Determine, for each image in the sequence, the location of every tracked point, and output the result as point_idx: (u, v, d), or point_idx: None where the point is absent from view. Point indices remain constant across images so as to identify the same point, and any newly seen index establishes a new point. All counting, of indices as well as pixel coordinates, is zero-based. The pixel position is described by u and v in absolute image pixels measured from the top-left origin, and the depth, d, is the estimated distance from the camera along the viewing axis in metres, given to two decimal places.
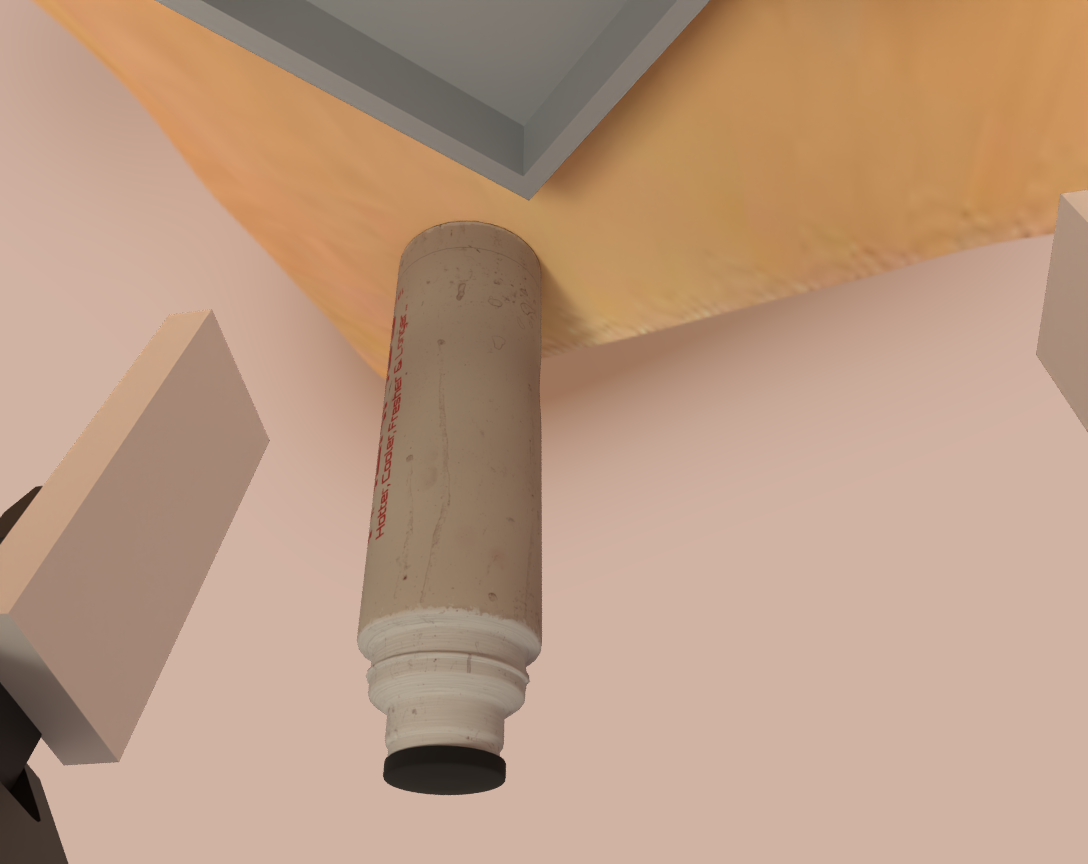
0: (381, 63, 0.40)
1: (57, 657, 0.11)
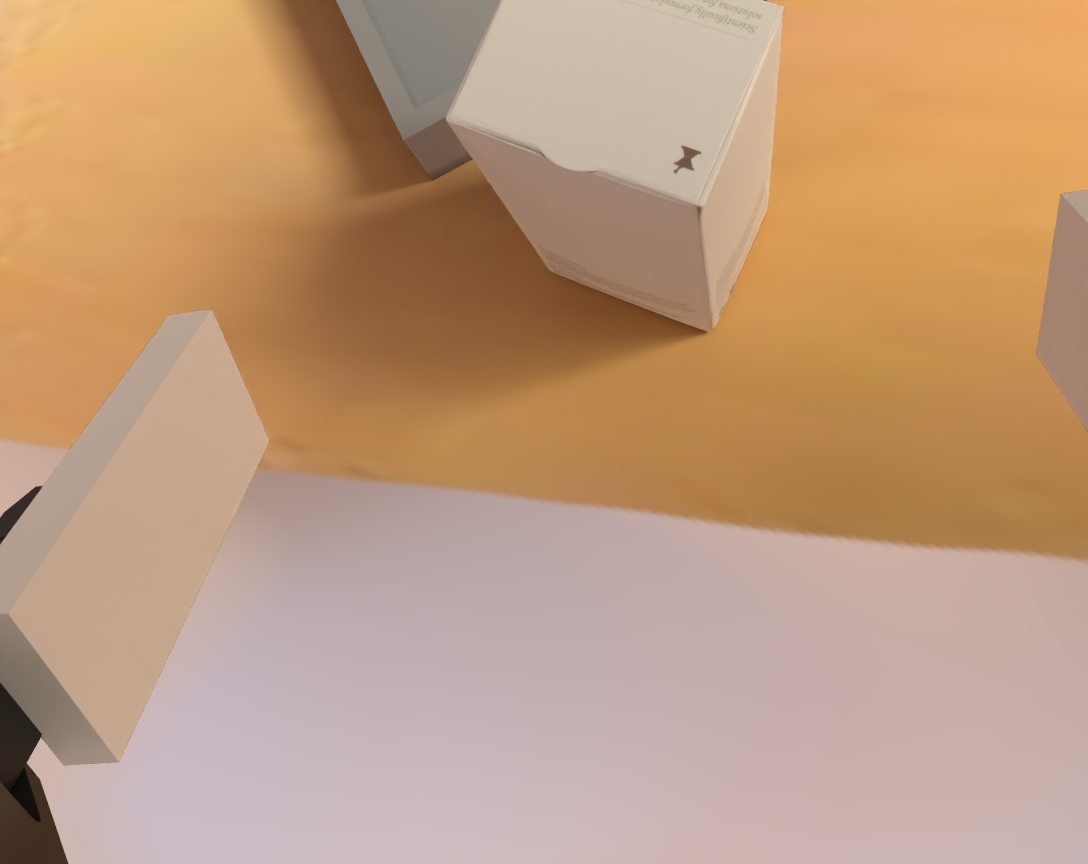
0: None
1: (57, 657, 0.11)
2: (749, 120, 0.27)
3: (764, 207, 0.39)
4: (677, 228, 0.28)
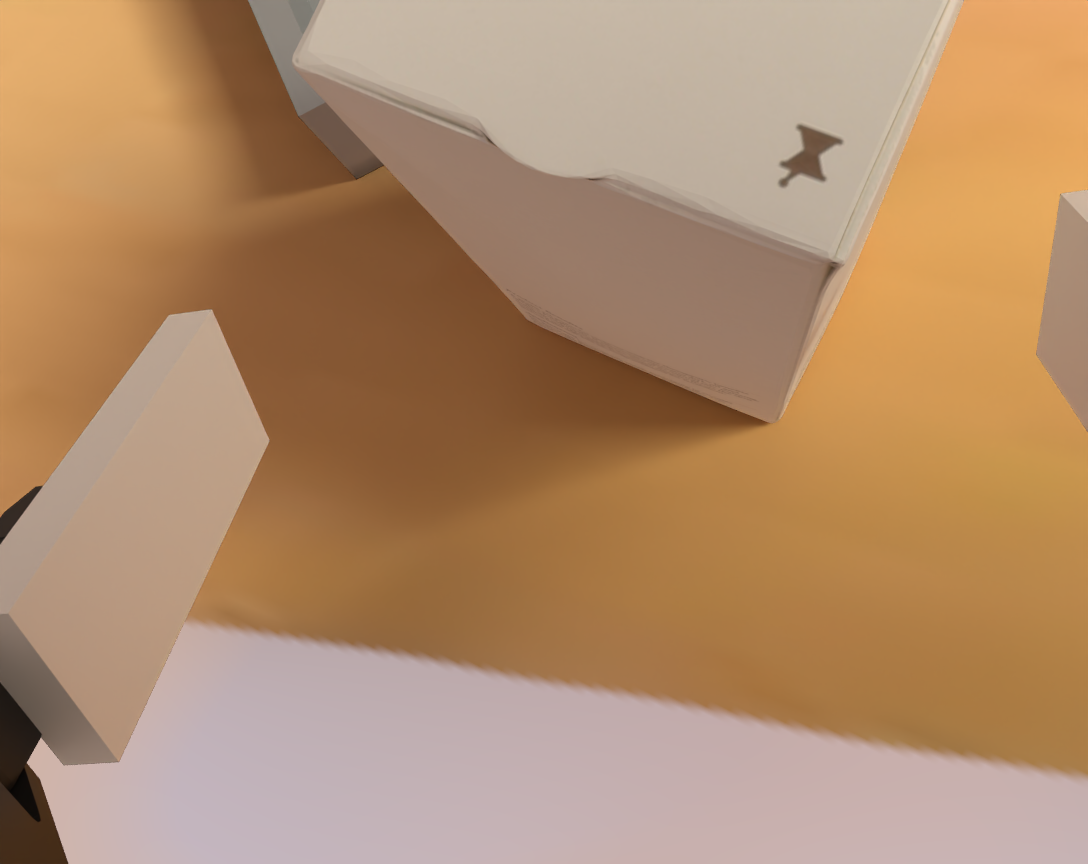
0: None
1: (57, 657, 0.11)
2: (932, 74, 0.13)
3: None
4: (767, 296, 0.14)
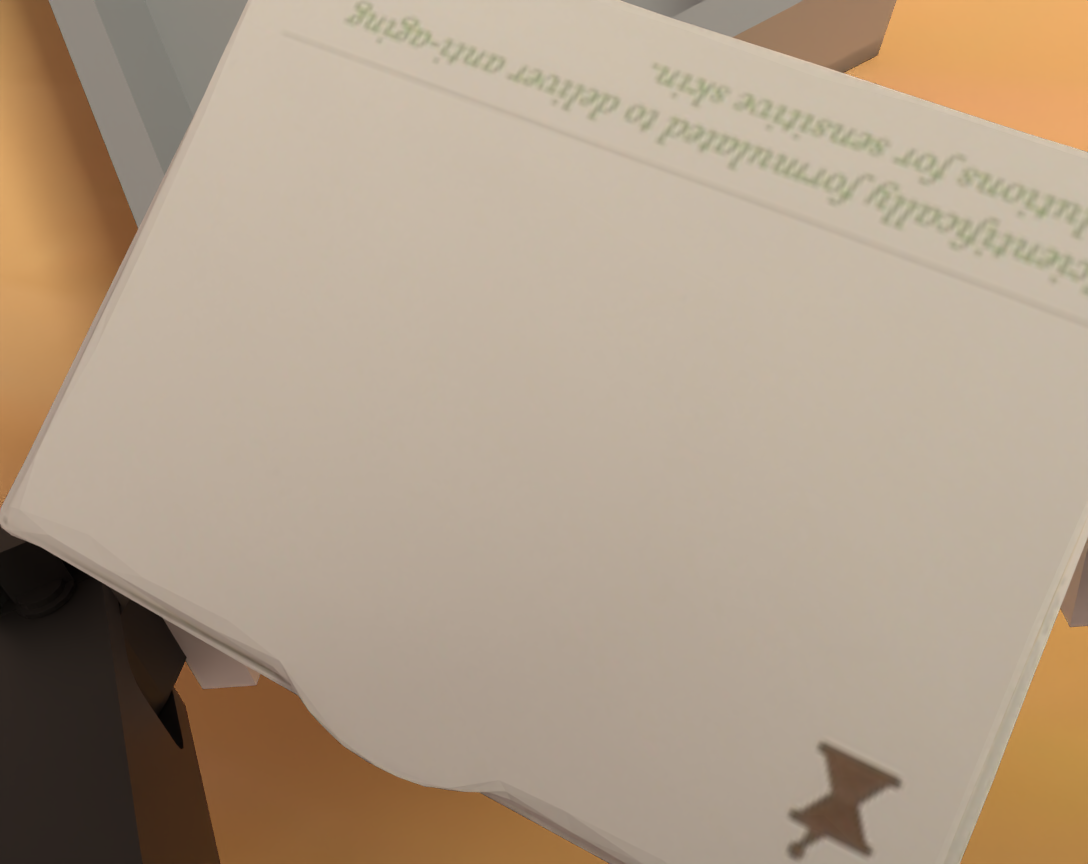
0: None
1: None
2: None
3: None
4: None
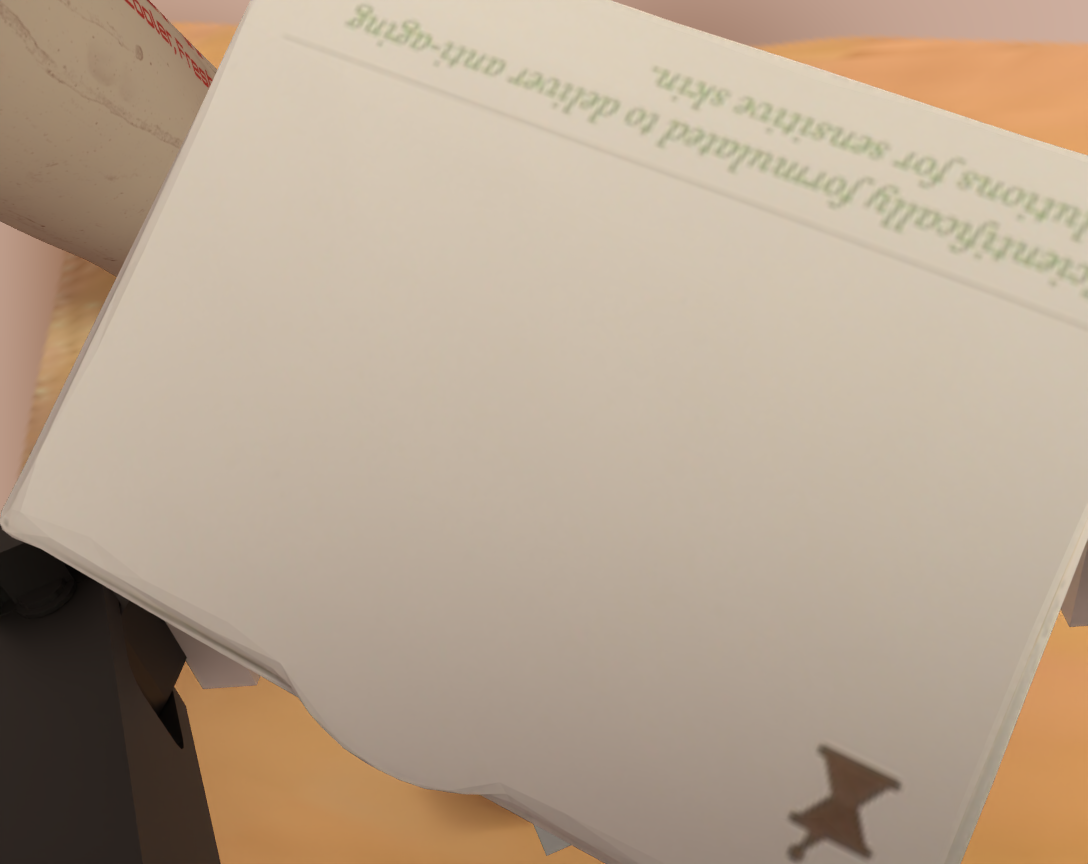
0: None
1: None
2: None
3: None
4: None
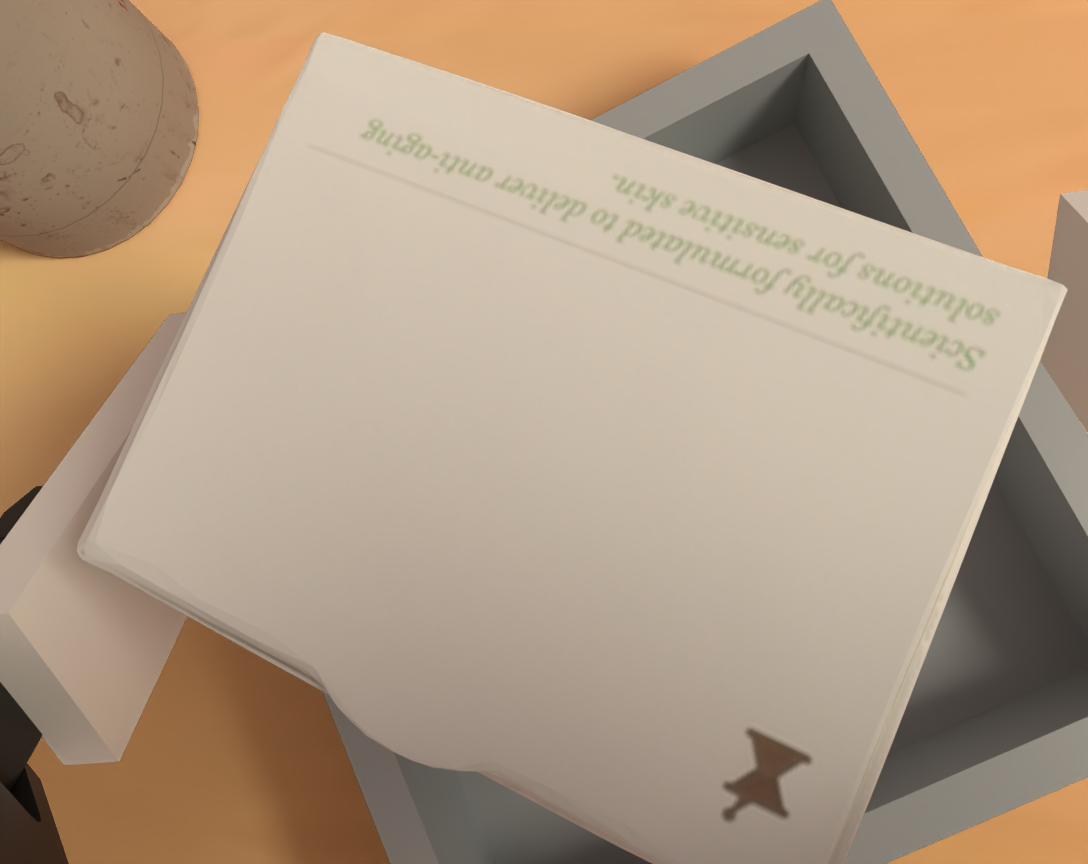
0: None
1: (58, 657, 0.11)
2: None
3: None
4: None
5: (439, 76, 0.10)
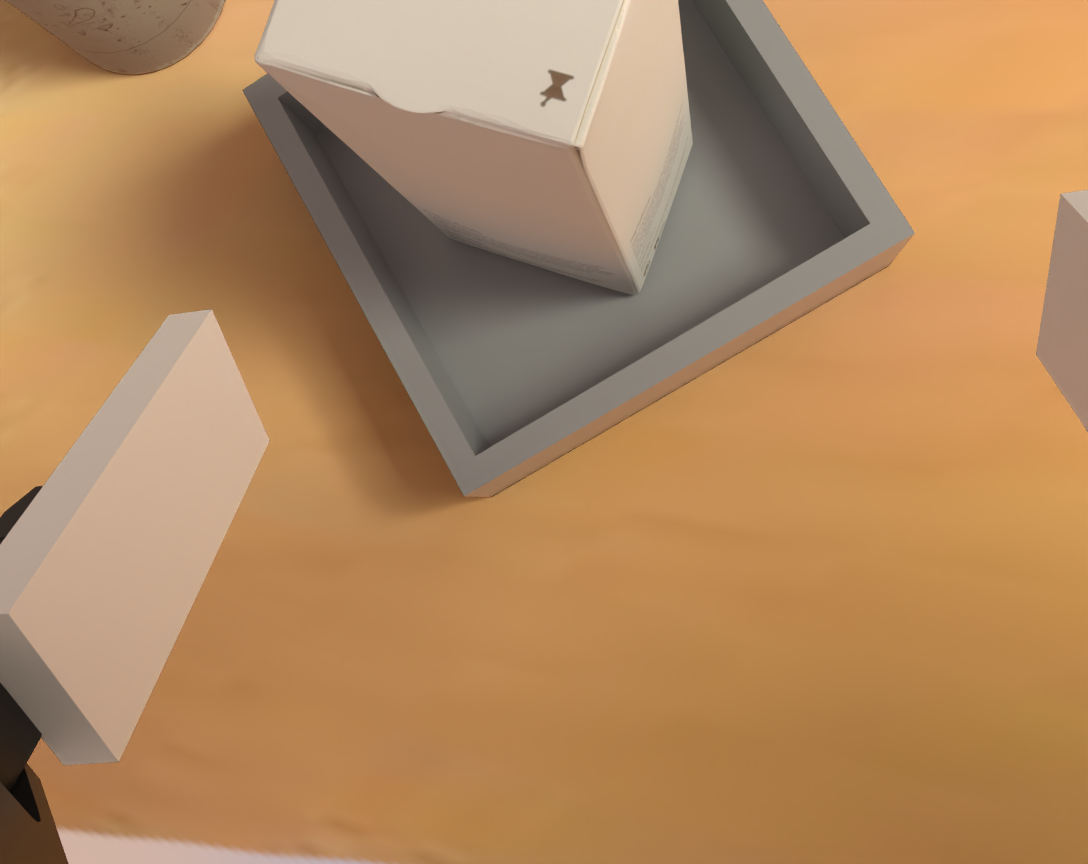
0: None
1: (57, 657, 0.11)
2: (636, 32, 0.21)
3: (686, 145, 0.34)
4: (559, 176, 0.22)
5: None
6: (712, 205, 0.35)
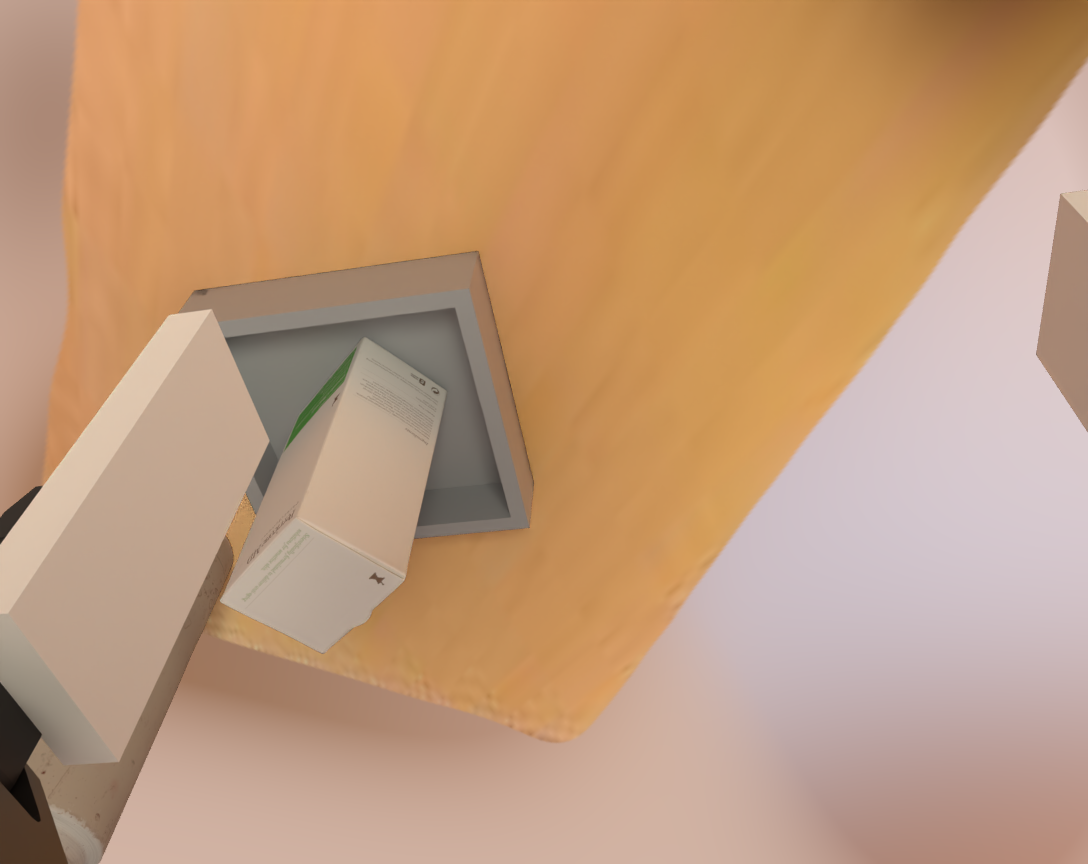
0: None
1: (57, 657, 0.11)
2: (355, 525, 0.45)
3: (370, 356, 0.54)
4: None
5: (234, 587, 0.47)
6: (407, 336, 0.55)
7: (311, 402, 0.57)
